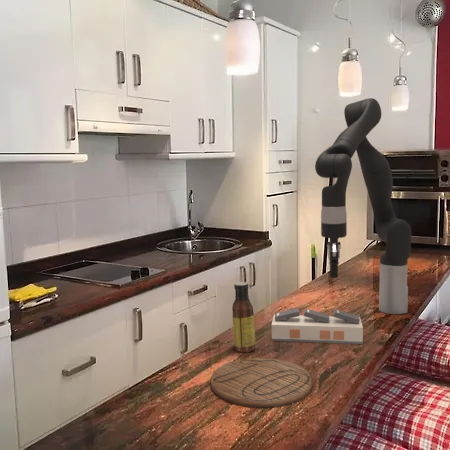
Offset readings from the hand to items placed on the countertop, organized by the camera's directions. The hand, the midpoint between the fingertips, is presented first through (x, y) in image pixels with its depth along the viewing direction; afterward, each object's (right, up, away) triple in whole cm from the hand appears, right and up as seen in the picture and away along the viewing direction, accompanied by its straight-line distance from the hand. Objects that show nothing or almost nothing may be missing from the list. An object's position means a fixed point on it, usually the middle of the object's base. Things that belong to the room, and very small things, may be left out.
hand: (333, 277), depth 158 cm
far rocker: (-13, -13, +4) cm, 19 cm away
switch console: (-5, -19, +3) cm, 20 cm away
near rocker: (+4, -13, +1) cm, 14 cm away
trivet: (-24, -24, -29) cm, 45 cm away
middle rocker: (-5, -13, +2) cm, 14 cm away
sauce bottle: (-28, -21, -6) cm, 35 cm away
